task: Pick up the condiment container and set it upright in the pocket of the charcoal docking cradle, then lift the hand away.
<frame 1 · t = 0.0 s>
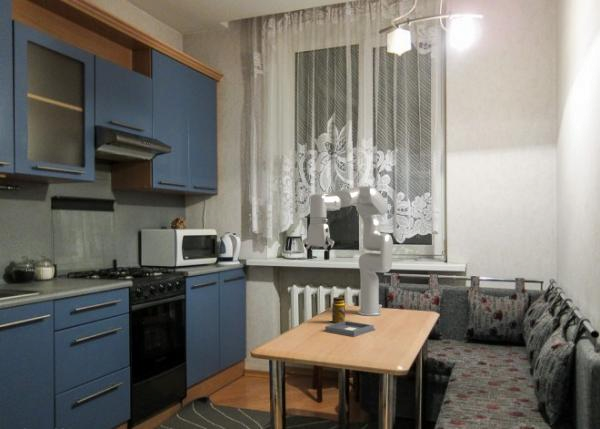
hand: (318, 259, 225), 31 cm above the table, tool pointing down, fingers open, 9 cm apart
condiment: (336, 323, 236), on the table
dock: (349, 330, 220), on the table
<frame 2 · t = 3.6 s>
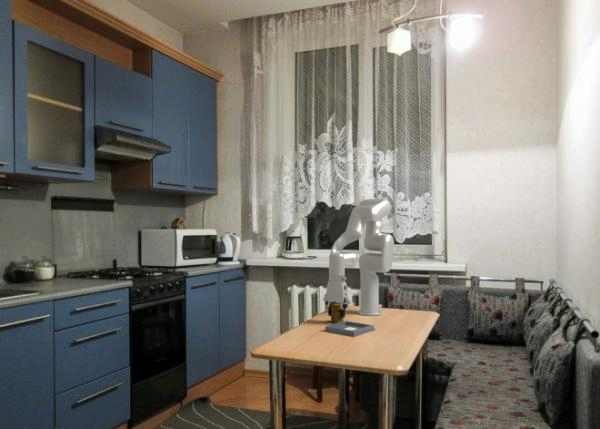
hand: (336, 316, 236), 3 cm above the table, tool pointing down, fingers closed on condiment, 6 cm apart
condiment: (335, 323, 237), on the table, touching gripper
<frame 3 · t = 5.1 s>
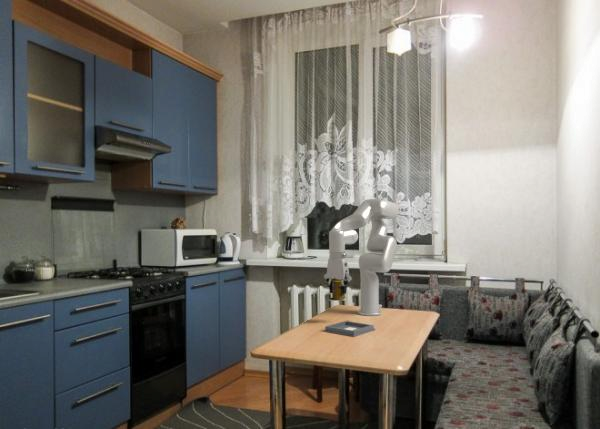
hand: (337, 292, 237), 14 cm above the table, tool pointing down, fingers closed on condiment, 6 cm apart
condiment: (336, 299, 238), point 11 cm above the table, touching gripper
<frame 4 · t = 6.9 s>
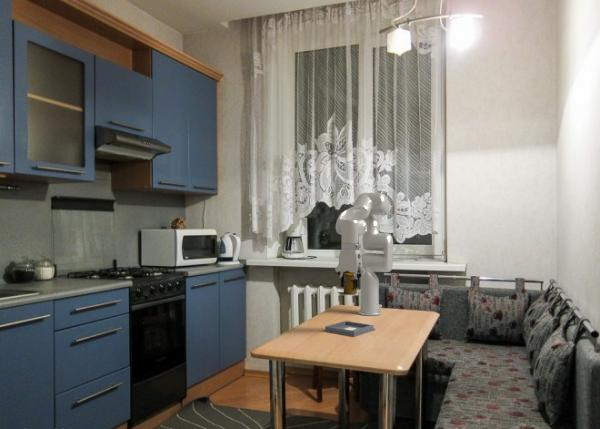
hand: (349, 287, 220), 19 cm above the table, tool pointing down, fingers closed on condiment, 6 cm apart
condiment: (348, 294, 221), point 16 cm above the table, touching gripper
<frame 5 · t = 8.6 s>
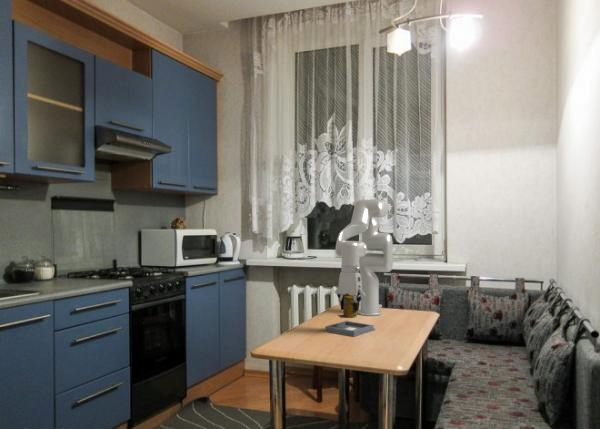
hand: (349, 309, 220), 9 cm above the table, tool pointing down, fingers closed on condiment, 6 cm apart
condiment: (348, 317, 220), point 6 cm above the table, touching gripper
when the fingers open (6 cm above the table, at t = 10.2 s): condiment drops 2 cm, resting on dock.
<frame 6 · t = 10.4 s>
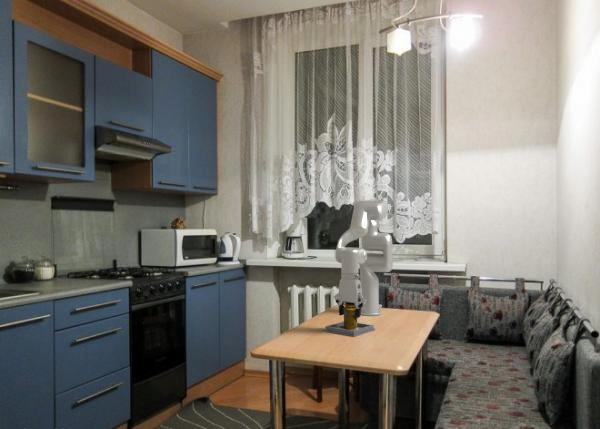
hand: (349, 316, 220), 6 cm above the table, tool pointing down, fingers open, 8 cm apart
condiment: (348, 328, 221), point 1 cm above the table, touching dock
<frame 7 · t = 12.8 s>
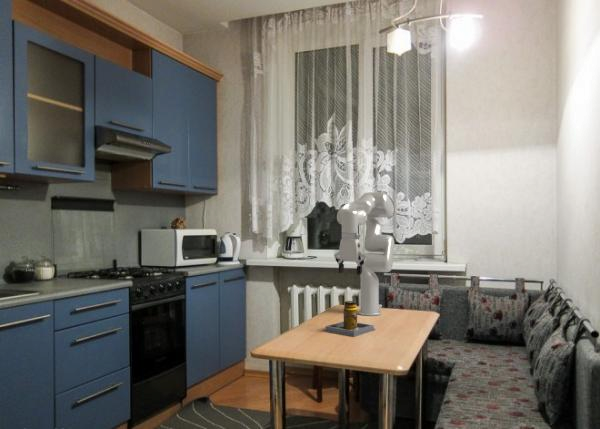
hand: (350, 273, 229), 24 cm above the table, tool pointing down, fingers open, 9 cm apart
nothing on the table moved.
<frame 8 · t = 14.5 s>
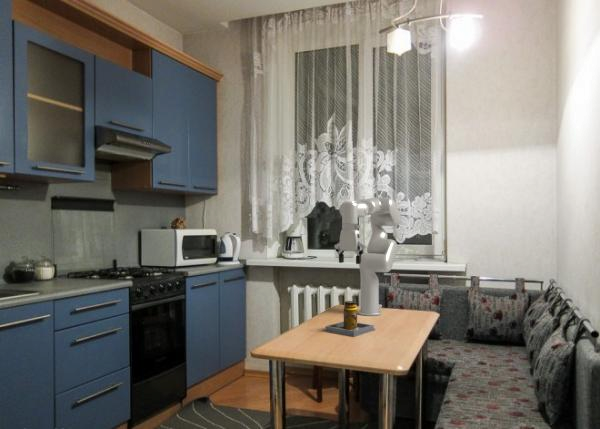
hand: (349, 263, 238), 28 cm above the table, tool pointing down, fingers open, 9 cm apart
nothing on the table moved.
at the end: condiment inside the target area on the dock (0.8 cm from its centre), point 0.5 cm above the dock's base; condiment tilted 0°; the gripper is holding nothing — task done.
